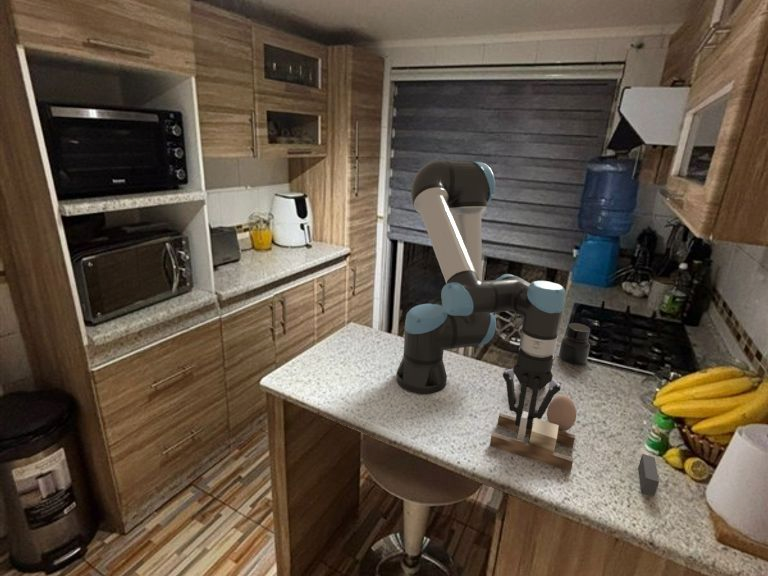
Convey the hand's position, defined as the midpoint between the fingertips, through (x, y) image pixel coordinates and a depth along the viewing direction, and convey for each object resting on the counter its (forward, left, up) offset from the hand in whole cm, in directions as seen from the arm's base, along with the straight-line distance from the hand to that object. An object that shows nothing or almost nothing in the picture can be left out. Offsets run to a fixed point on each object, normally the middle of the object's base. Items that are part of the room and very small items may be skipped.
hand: (521, 437), depth 101 cm
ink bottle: (+9, +53, -2) cm, 54 cm away
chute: (+3, 0, -2) cm, 3 cm away
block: (+5, 0, -2) cm, 5 cm away
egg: (+8, +10, -2) cm, 13 cm away
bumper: (+27, 0, -2) cm, 27 cm away
